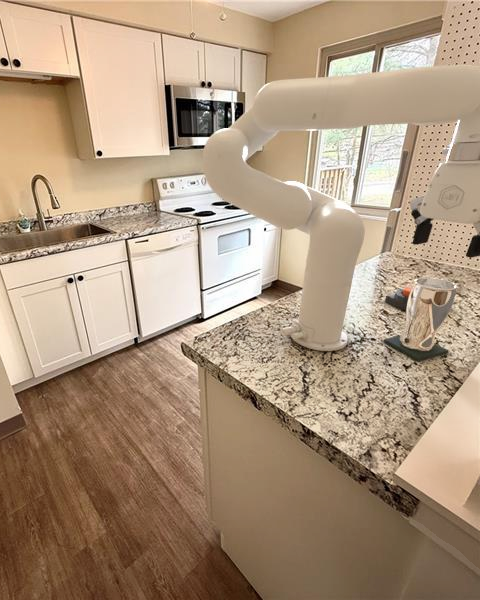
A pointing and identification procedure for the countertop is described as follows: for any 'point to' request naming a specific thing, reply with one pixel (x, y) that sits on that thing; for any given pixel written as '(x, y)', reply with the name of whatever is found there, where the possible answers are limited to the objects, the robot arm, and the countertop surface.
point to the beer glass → (426, 312)
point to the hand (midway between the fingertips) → (444, 249)
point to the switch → (407, 291)
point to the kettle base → (397, 300)
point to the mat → (415, 354)
